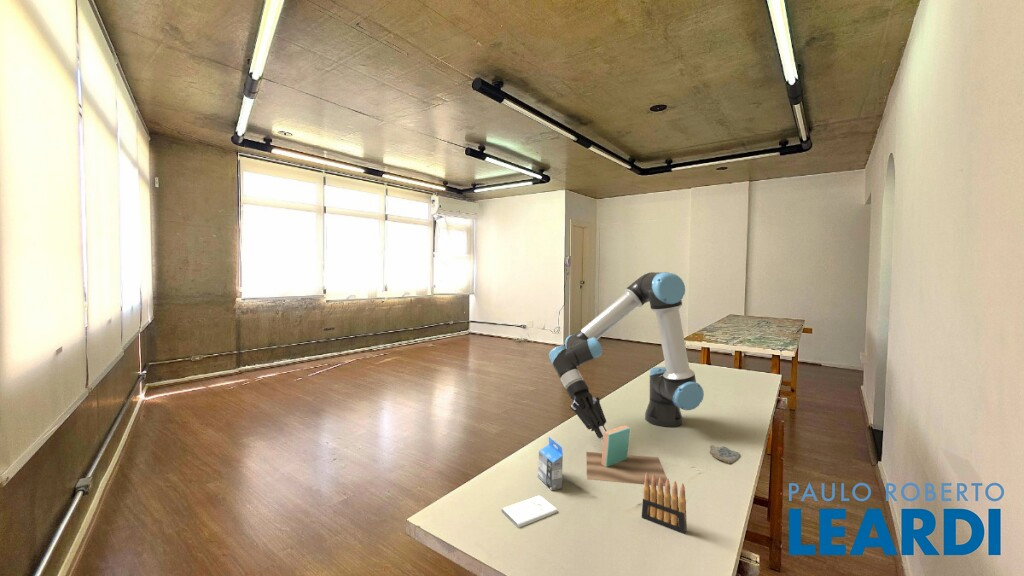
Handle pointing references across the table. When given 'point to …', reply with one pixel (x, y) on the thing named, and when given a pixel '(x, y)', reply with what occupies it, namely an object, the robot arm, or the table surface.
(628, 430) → the tile
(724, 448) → the ceramic fragment
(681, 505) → the ammunition clip
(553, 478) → the label tape box
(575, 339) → the robot arm
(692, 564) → the table surface
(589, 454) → the board
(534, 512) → the external hard drive
